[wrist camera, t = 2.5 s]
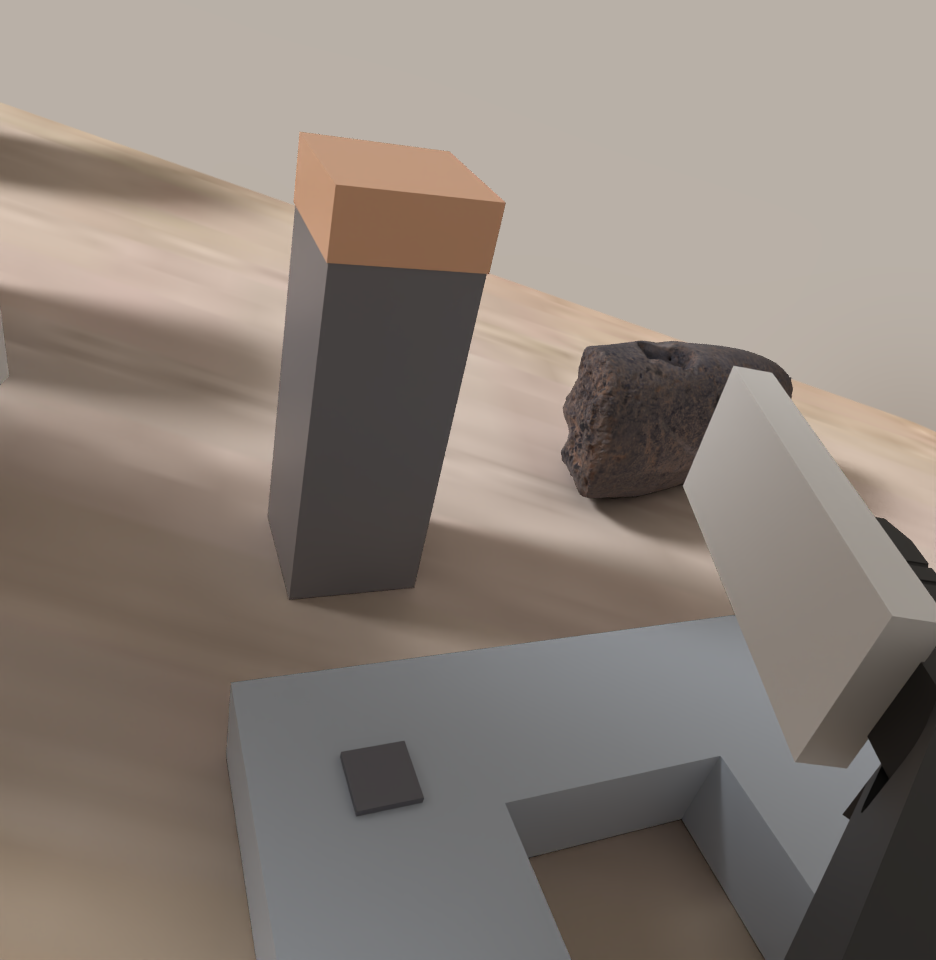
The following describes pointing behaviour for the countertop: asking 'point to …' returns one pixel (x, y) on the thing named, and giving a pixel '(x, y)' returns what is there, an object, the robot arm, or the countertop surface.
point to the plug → (372, 356)
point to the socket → (516, 790)
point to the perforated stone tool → (646, 412)
